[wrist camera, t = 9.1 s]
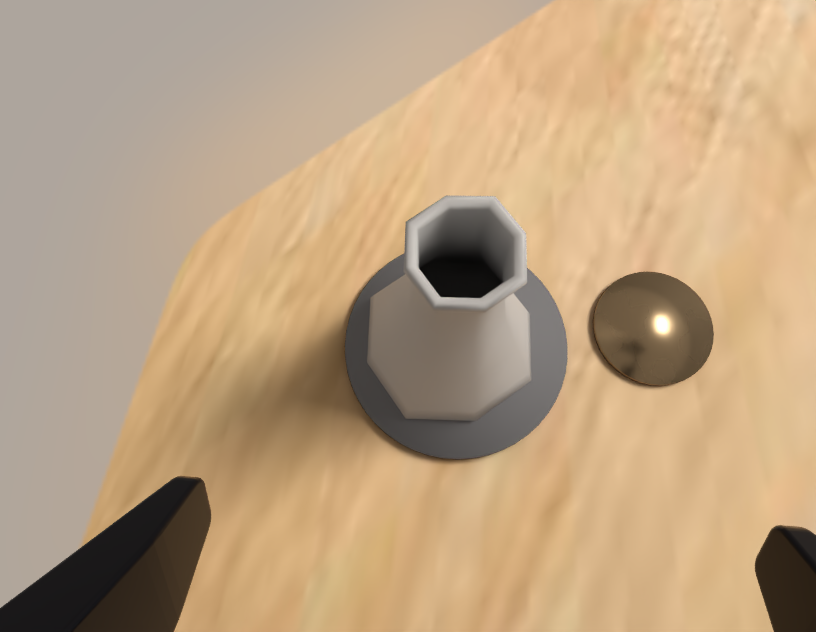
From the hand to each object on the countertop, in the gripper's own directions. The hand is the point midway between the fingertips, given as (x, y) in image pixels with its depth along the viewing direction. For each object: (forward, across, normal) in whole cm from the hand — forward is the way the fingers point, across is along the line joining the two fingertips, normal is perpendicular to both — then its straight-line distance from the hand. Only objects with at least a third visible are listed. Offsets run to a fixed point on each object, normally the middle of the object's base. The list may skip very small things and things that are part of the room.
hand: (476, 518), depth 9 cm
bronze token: (+15, -8, +4) cm, 17 cm away
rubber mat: (+14, 0, +5) cm, 15 cm away
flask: (+14, 0, +5) cm, 15 cm away
